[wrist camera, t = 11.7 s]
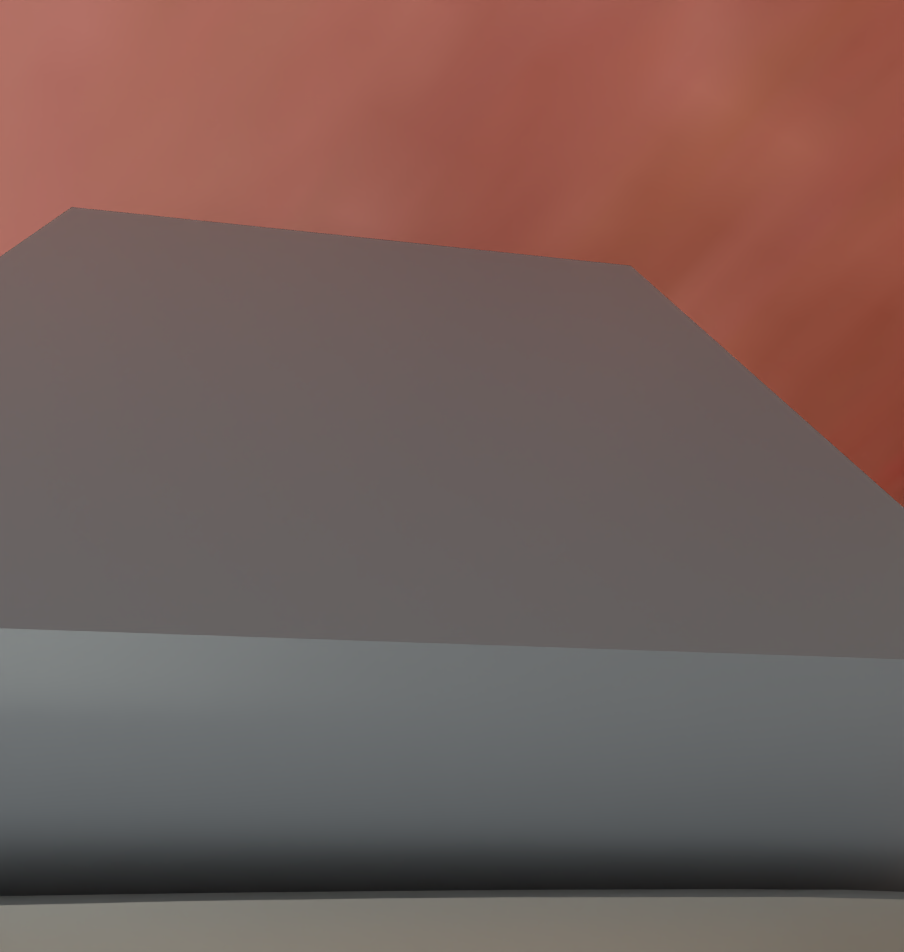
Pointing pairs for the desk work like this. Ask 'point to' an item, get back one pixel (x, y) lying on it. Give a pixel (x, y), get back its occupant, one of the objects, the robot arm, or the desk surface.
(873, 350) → the desk surface
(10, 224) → the desk surface
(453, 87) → the desk surface
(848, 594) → the matte gray cube
